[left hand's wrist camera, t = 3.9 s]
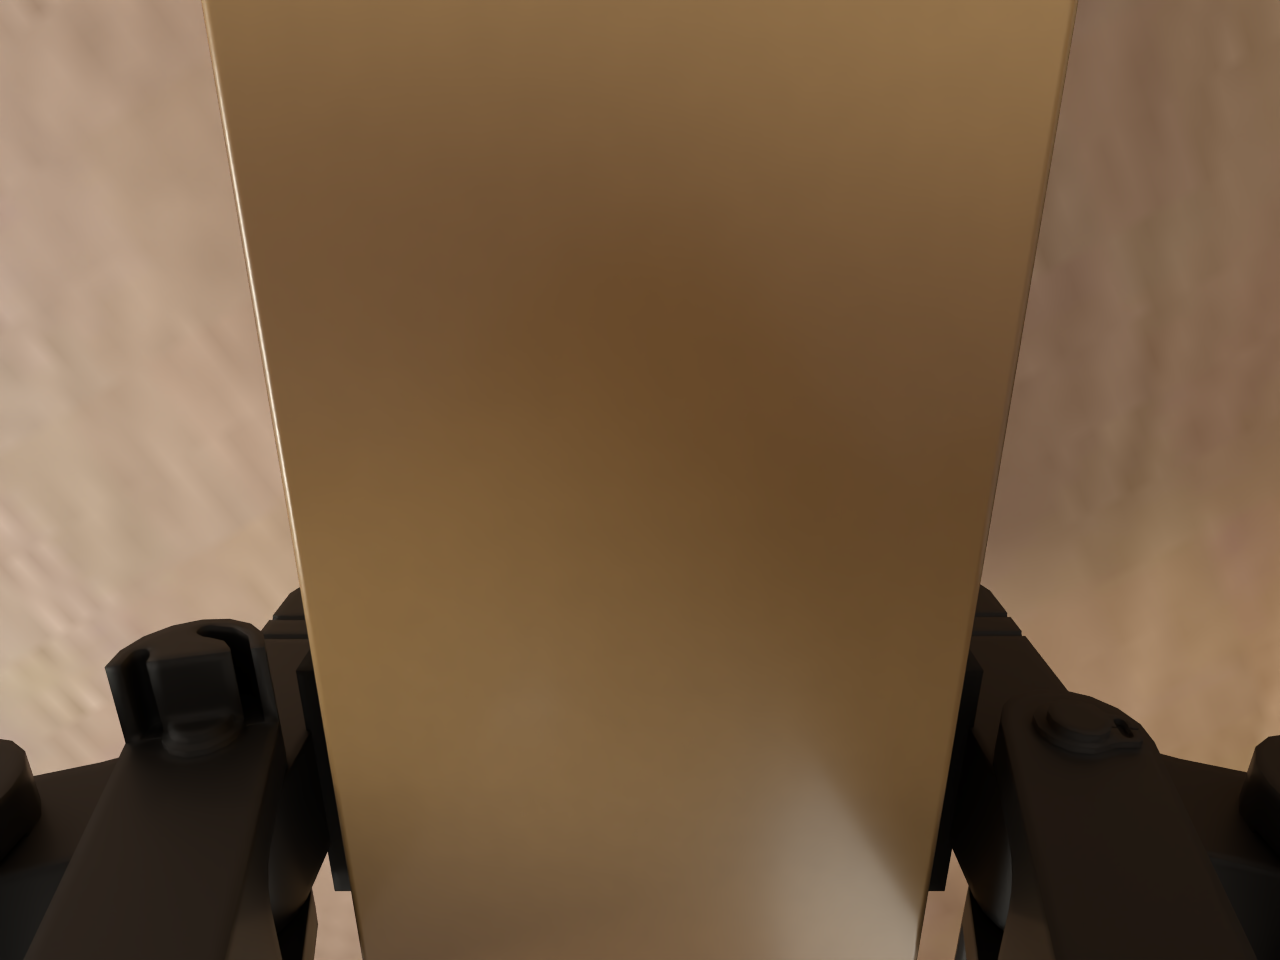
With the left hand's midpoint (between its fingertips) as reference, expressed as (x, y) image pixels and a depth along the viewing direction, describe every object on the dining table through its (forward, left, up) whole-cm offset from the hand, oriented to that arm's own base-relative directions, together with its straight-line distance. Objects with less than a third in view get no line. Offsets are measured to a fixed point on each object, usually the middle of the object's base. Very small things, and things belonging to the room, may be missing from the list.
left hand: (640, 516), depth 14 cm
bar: (+9, 0, -1) cm, 9 cm away
